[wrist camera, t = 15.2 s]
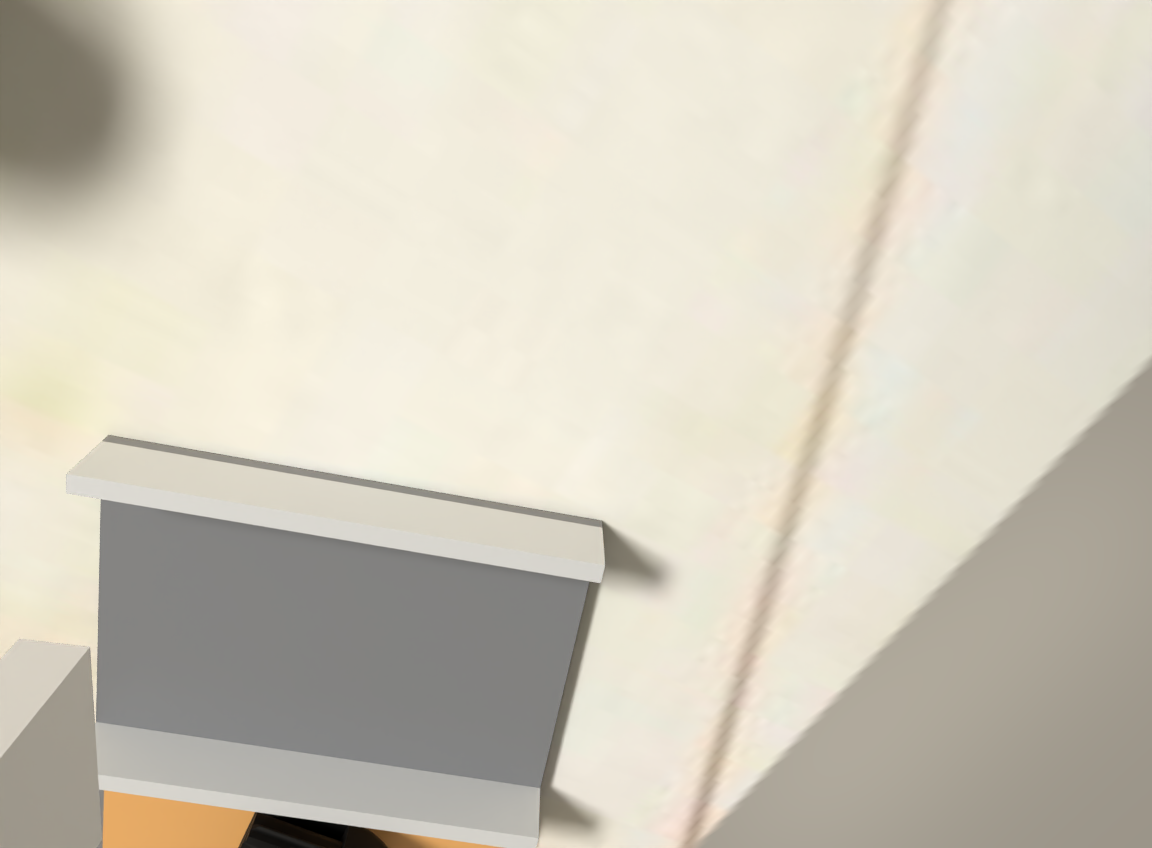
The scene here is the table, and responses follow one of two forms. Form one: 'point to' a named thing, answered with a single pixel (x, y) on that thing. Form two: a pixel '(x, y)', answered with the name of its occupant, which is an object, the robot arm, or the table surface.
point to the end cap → (305, 834)
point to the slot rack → (323, 651)
